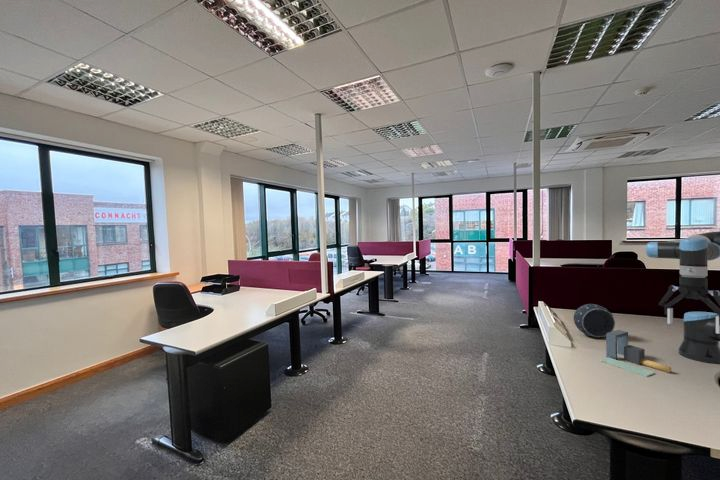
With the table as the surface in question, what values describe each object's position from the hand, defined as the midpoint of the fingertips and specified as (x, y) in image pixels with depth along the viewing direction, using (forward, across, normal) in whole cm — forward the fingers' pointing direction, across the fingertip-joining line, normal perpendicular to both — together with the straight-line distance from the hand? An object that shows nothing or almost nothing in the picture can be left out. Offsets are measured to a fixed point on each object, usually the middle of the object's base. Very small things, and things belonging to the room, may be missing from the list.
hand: (693, 327), depth 118 cm
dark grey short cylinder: (+26, -53, +34) cm, 68 cm away
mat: (+26, -22, +1) cm, 34 cm away
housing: (+26, -31, +11) cm, 42 cm away
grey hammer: (+26, -19, +11) cm, 34 cm away
